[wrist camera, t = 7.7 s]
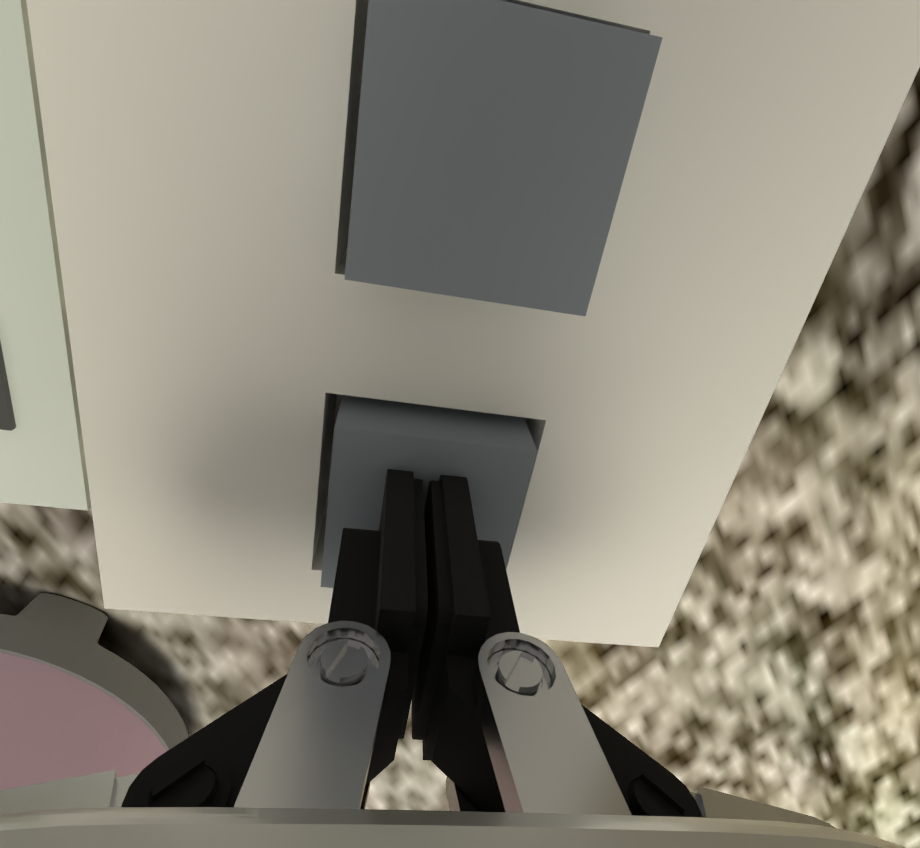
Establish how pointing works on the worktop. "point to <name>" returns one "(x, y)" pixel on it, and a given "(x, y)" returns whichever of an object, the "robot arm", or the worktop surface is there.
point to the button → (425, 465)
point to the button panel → (428, 314)
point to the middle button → (492, 149)
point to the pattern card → (32, 299)
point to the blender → (74, 699)
